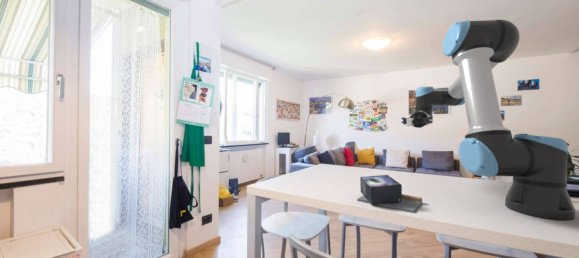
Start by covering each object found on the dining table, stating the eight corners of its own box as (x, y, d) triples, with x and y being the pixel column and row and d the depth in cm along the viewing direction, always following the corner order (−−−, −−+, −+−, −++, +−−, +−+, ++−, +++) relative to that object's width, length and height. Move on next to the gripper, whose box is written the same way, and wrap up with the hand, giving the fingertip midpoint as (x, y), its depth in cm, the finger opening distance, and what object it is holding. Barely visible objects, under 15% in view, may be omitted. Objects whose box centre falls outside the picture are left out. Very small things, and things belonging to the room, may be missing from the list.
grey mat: (422, 203, 82) (422, 197, 82) (413, 212, 74) (413, 206, 74) (370, 193, 94) (370, 188, 94) (357, 200, 85) (357, 195, 85)
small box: (388, 173, 90) (402, 183, 79) (388, 190, 90) (402, 202, 80) (359, 175, 89) (370, 186, 79) (360, 192, 90) (371, 205, 80)
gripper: (435, 127, 112) (427, 132, 93) (404, 127, 120) (391, 131, 101) (435, 110, 111) (427, 112, 93) (404, 111, 119) (391, 113, 100)
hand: (408, 122), depth 97 cm, fingers closed
